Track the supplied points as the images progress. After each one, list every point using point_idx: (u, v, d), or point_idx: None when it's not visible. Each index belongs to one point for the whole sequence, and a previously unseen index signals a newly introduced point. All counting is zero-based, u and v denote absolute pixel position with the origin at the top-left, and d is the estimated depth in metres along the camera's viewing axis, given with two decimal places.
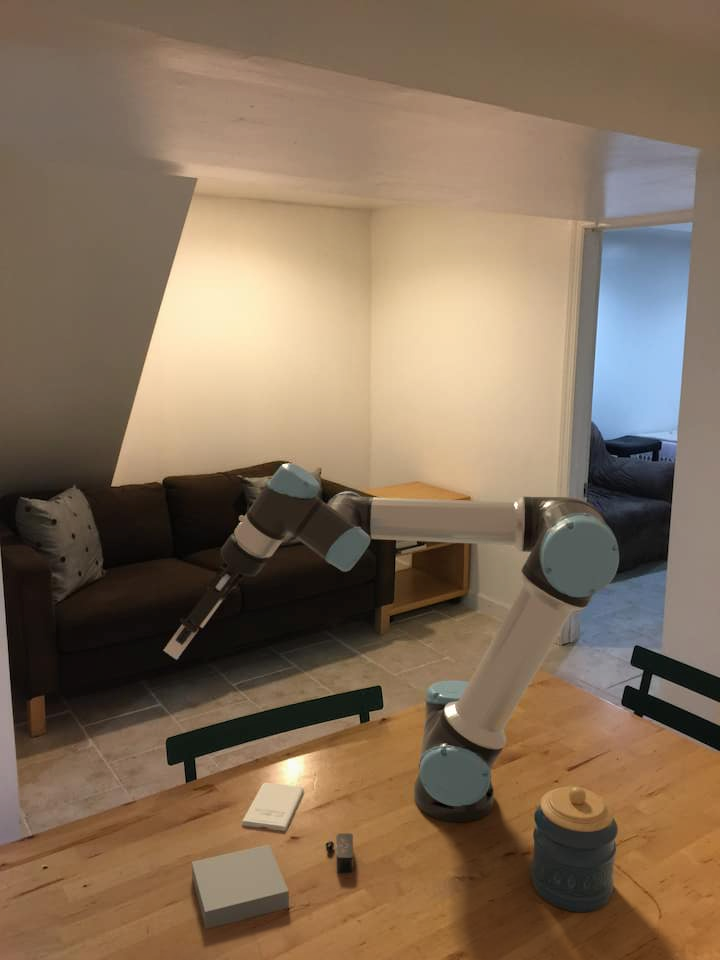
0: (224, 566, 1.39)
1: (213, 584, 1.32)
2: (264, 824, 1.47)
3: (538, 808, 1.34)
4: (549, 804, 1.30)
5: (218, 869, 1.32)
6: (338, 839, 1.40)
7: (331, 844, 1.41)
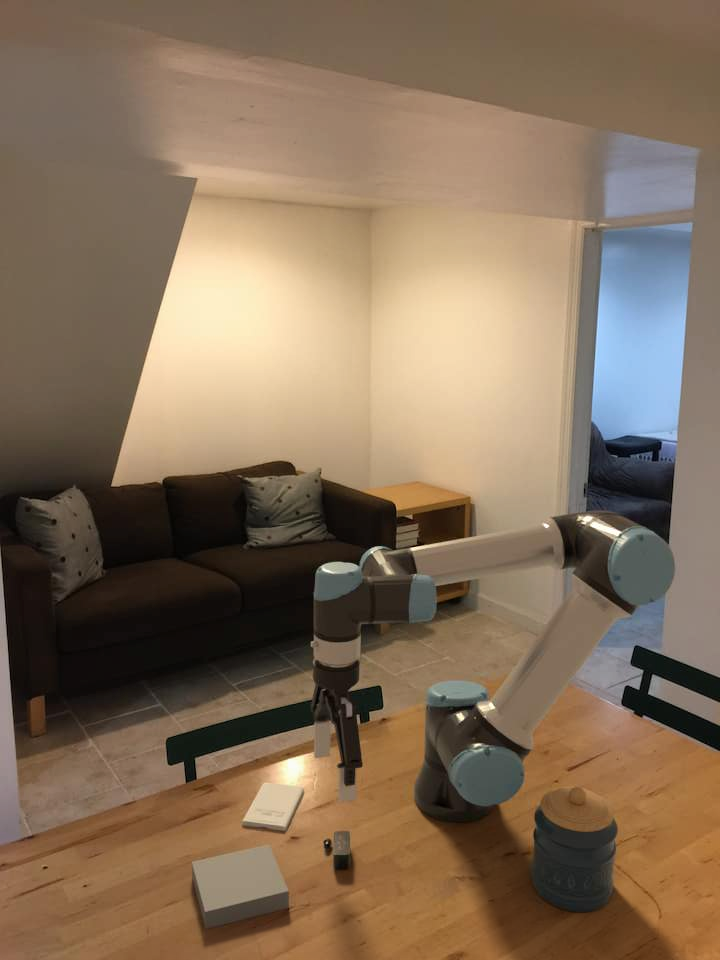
0: (325, 693, 1.34)
1: (343, 716, 1.27)
2: (264, 824, 1.47)
3: (538, 808, 1.34)
4: (549, 804, 1.30)
5: (218, 869, 1.32)
6: (335, 836, 1.41)
7: (329, 841, 1.42)
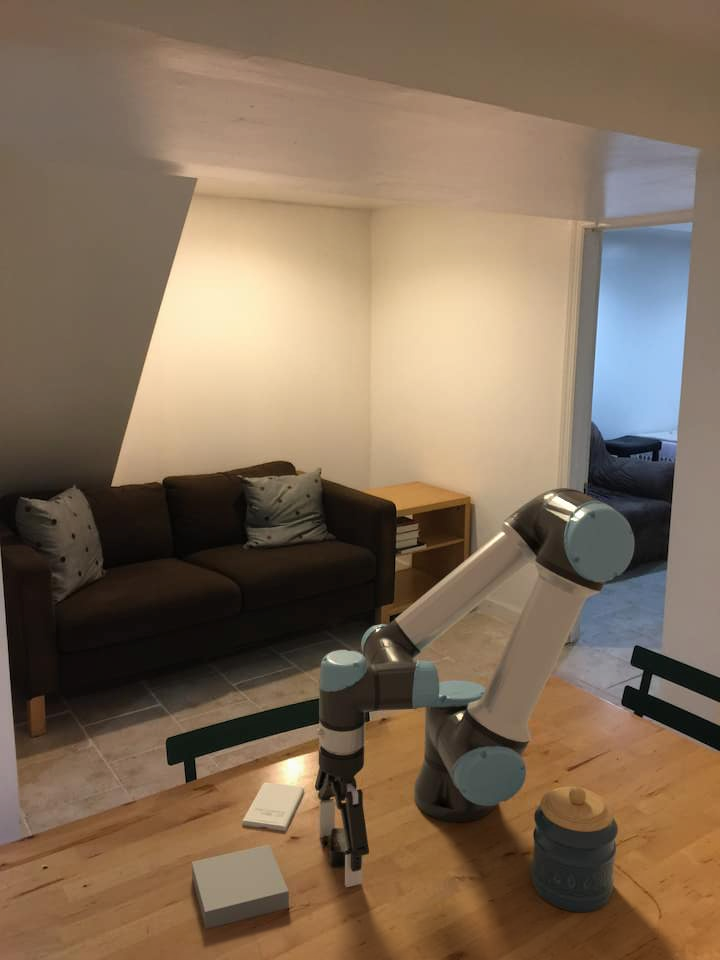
0: (330, 778, 1.36)
1: (350, 804, 1.30)
2: (264, 824, 1.47)
3: (538, 808, 1.34)
4: (549, 804, 1.30)
5: (218, 869, 1.32)
6: (333, 833, 1.41)
7: (326, 838, 1.43)
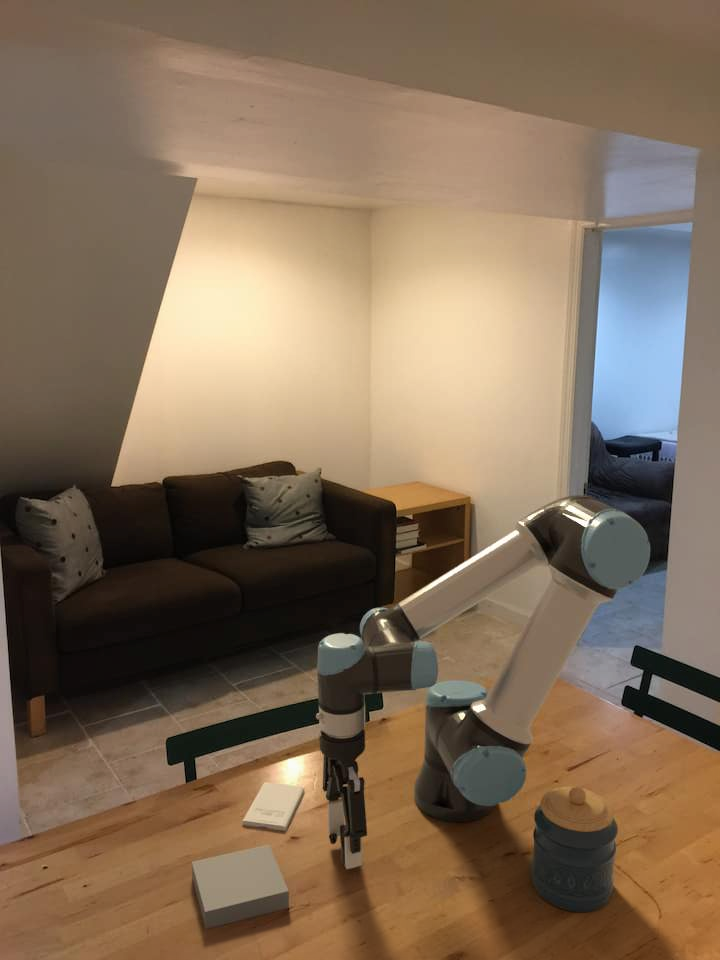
0: (332, 761, 1.36)
1: (351, 792, 1.30)
2: (264, 824, 1.47)
3: (538, 808, 1.34)
4: (549, 804, 1.30)
5: (218, 869, 1.32)
6: (342, 830, 1.40)
7: (335, 836, 1.41)
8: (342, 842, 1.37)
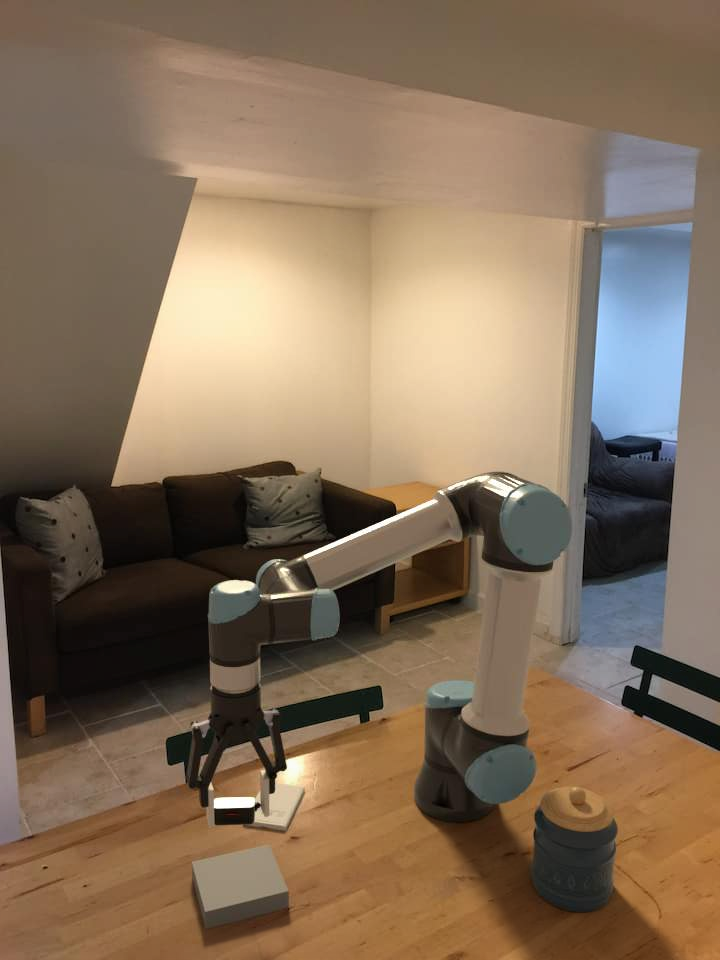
0: None
1: (192, 732, 1.24)
2: (264, 824, 1.48)
3: (538, 808, 1.34)
4: (549, 804, 1.30)
5: (218, 869, 1.32)
6: (244, 798, 1.28)
7: None
8: (224, 798, 1.28)
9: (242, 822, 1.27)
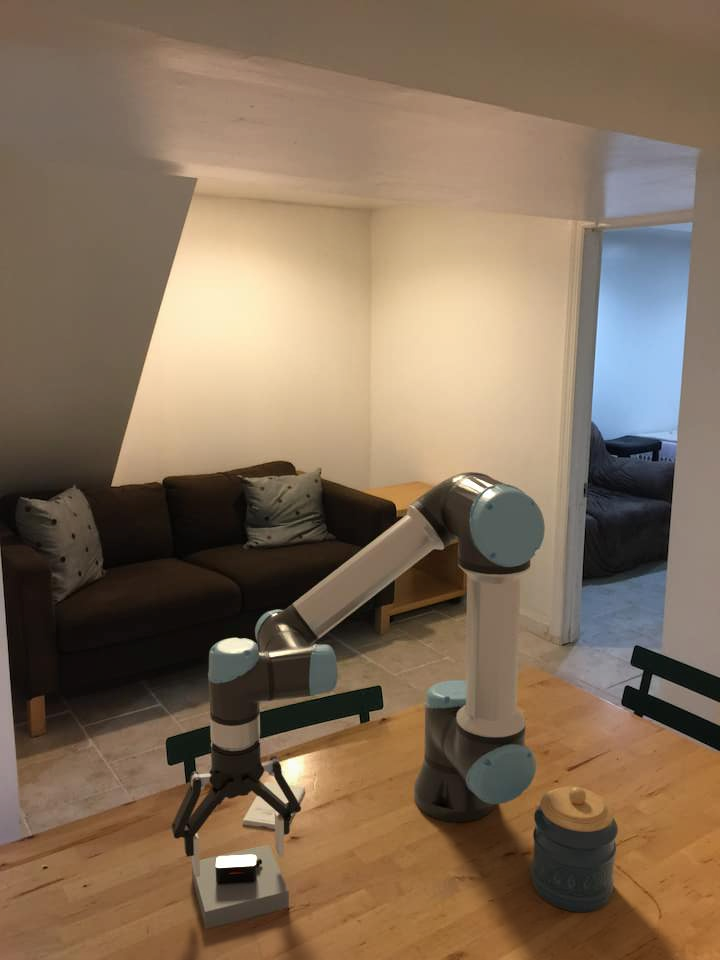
0: None
1: (190, 782, 1.26)
2: (265, 824, 1.48)
3: (538, 808, 1.34)
4: (549, 804, 1.30)
5: None
6: (246, 856, 1.31)
7: None
8: (226, 856, 1.30)
9: (244, 881, 1.29)
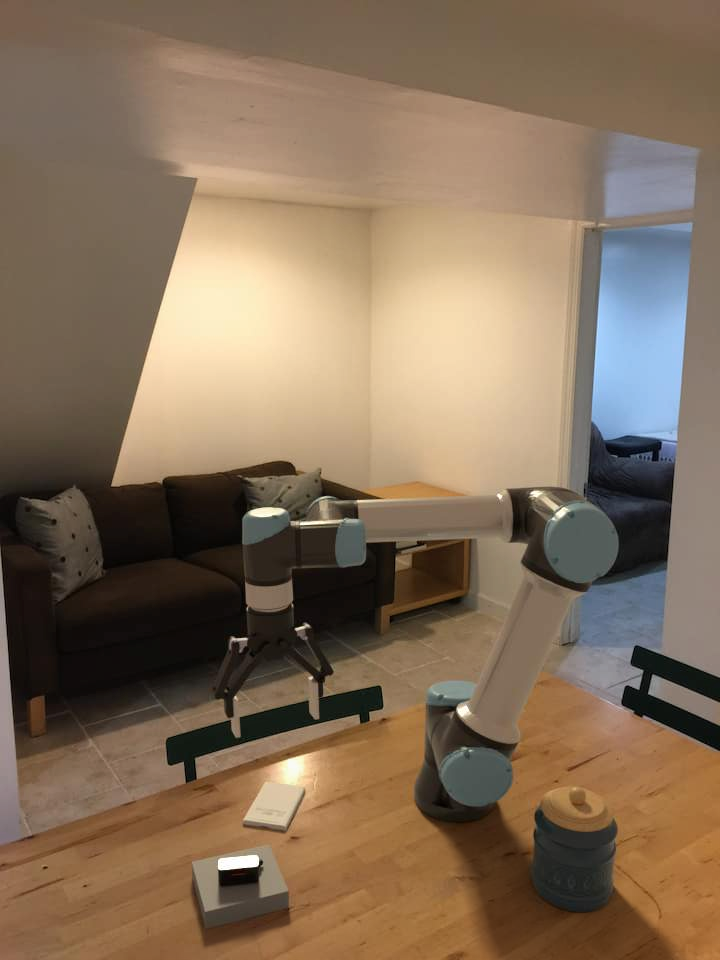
0: None
1: (228, 647, 1.32)
2: (265, 824, 1.48)
3: (538, 808, 1.34)
4: (549, 804, 1.30)
5: None
6: (248, 857, 1.30)
7: None
8: (228, 858, 1.30)
9: (247, 882, 1.29)
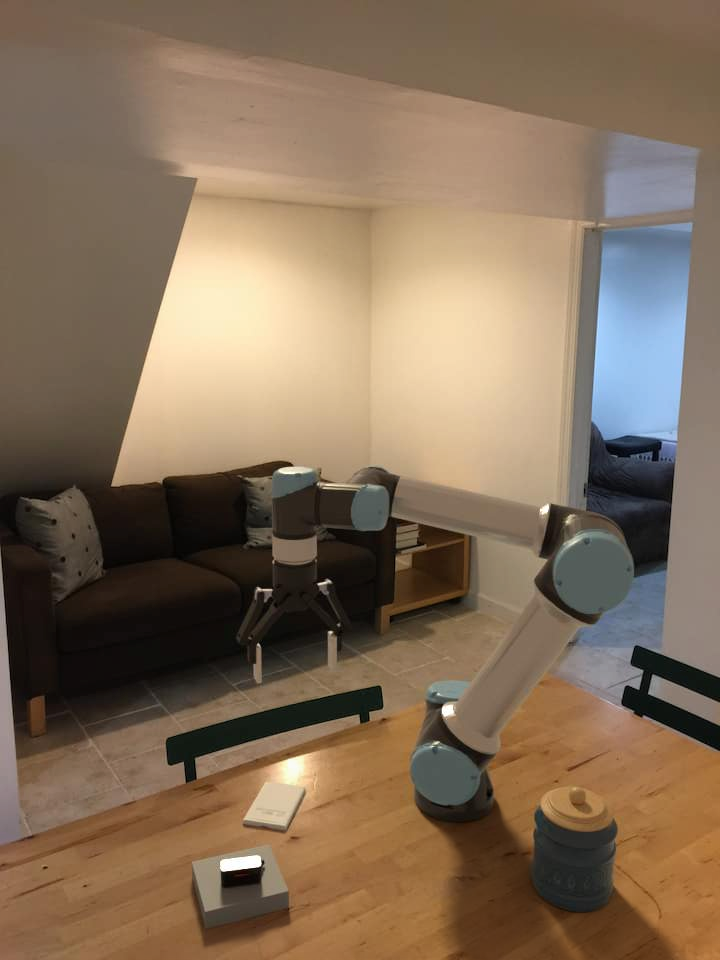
0: None
1: None
2: (265, 823, 1.48)
3: (538, 808, 1.34)
4: (549, 804, 1.30)
5: (218, 869, 1.32)
6: (250, 857, 1.30)
7: None
8: (230, 859, 1.30)
9: (250, 882, 1.28)
